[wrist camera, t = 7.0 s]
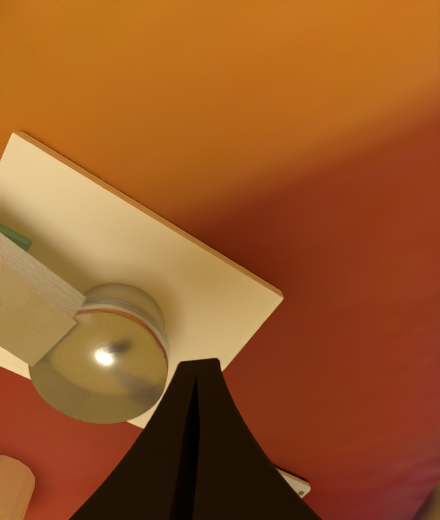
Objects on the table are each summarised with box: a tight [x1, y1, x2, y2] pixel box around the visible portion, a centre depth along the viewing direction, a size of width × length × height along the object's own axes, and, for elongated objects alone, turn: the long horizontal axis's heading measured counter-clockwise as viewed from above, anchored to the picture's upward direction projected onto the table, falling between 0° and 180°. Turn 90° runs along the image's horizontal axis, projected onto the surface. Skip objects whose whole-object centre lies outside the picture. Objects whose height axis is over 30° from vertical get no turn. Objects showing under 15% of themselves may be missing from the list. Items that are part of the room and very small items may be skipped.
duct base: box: [0, 131, 284, 429], centre depth 21 cm, size 14×17×3 cm
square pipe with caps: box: [0, 233, 170, 424], centre depth 17 cm, size 15×7×3 cm, turn 44°
